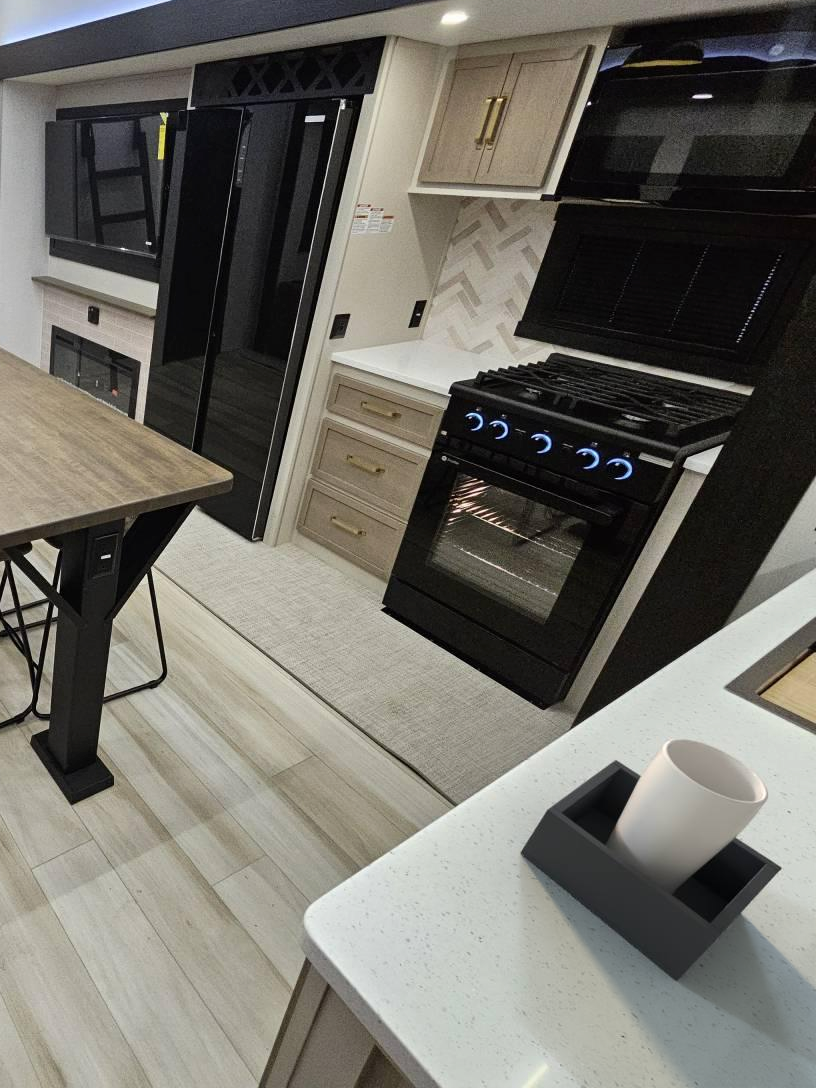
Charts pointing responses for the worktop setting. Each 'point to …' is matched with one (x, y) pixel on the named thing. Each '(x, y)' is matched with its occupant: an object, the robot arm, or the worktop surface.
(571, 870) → the bin
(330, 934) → the worktop surface
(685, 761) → the white cup
